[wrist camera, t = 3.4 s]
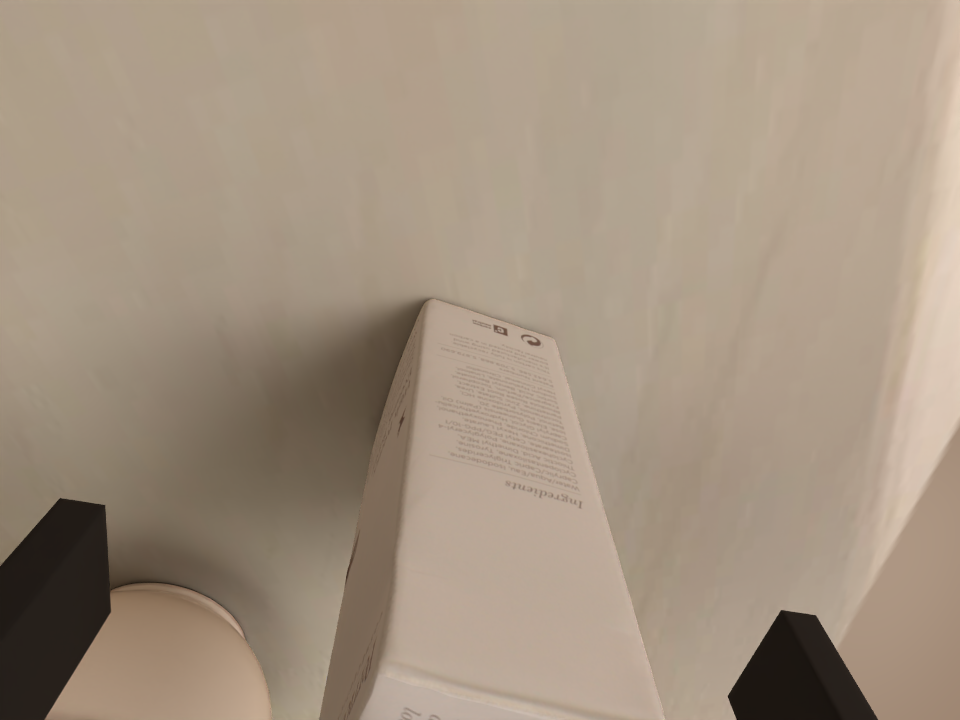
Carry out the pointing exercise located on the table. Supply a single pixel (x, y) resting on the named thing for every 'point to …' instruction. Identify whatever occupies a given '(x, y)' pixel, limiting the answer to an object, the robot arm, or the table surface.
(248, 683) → the trinket box
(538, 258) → the table surface
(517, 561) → the cosmetic box
